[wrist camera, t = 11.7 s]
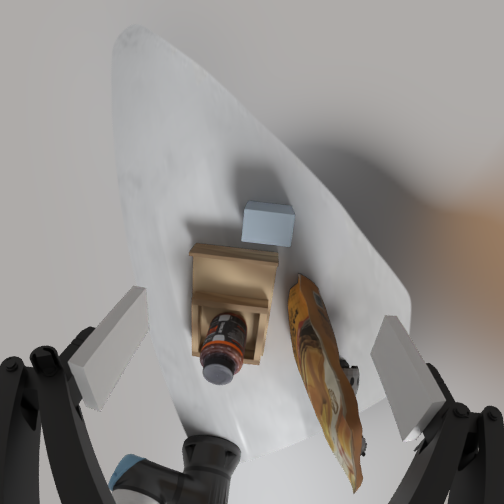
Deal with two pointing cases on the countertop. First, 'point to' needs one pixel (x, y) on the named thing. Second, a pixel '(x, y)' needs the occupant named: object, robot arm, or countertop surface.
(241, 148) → the countertop surface
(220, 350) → the supplement bottle
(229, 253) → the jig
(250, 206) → the wing block
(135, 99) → the countertop surface
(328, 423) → the pancake mix bag
